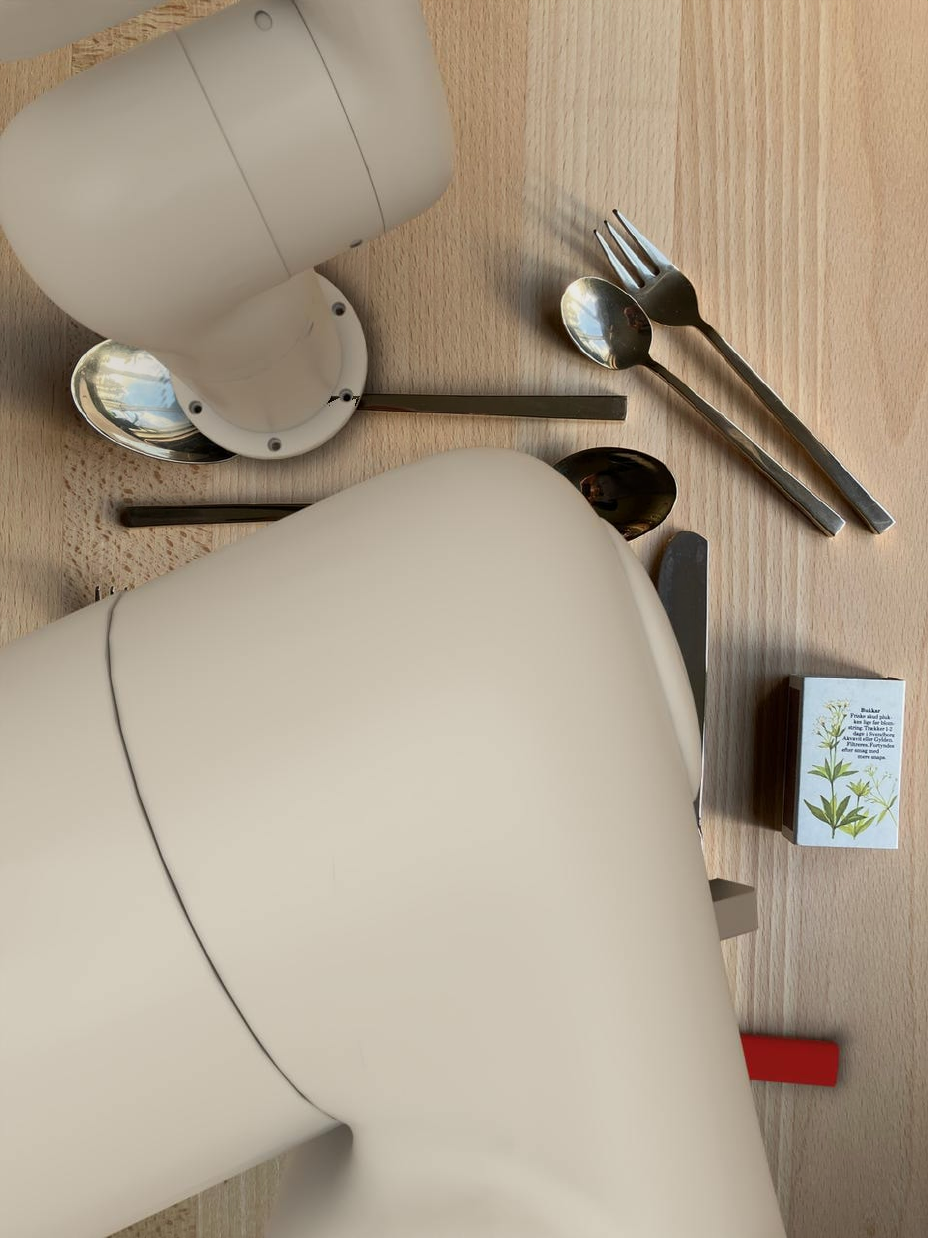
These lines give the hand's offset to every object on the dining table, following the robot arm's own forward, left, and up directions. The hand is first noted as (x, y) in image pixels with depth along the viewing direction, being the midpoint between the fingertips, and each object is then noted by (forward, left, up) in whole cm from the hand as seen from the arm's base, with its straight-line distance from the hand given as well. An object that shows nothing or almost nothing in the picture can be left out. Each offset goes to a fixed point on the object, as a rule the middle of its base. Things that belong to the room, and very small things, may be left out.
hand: (471, 869), depth 40 cm
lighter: (+21, +19, -27) cm, 39 cm away
